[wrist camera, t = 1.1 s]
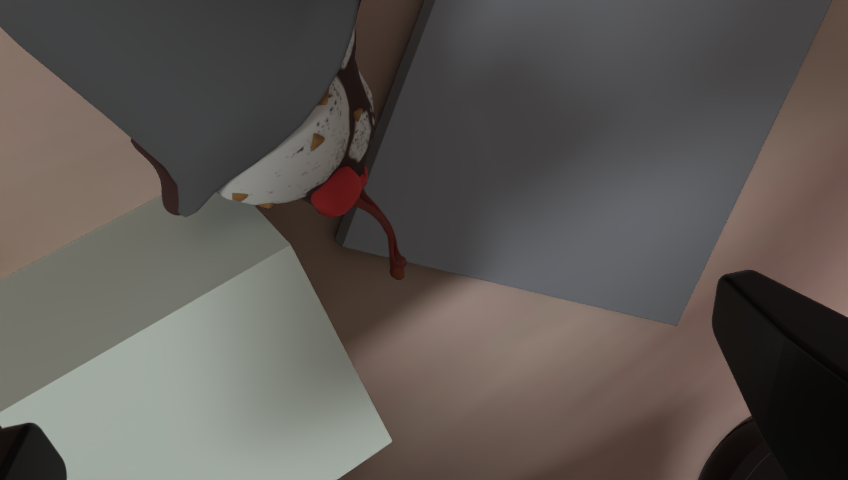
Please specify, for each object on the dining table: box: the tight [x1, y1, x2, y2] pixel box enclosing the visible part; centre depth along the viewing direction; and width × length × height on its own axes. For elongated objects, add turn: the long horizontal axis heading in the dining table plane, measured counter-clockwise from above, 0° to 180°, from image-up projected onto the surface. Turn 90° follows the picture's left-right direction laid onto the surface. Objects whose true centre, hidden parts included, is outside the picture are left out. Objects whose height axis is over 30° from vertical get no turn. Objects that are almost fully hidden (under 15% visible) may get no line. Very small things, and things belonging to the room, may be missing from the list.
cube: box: [0, 192, 392, 480], centre depth 18 cm, size 6×6×6 cm
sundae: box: [0, 0, 407, 280], centre depth 14 cm, size 7×7×15 cm
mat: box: [335, 0, 832, 326], centre depth 24 cm, size 16×16×1 cm
